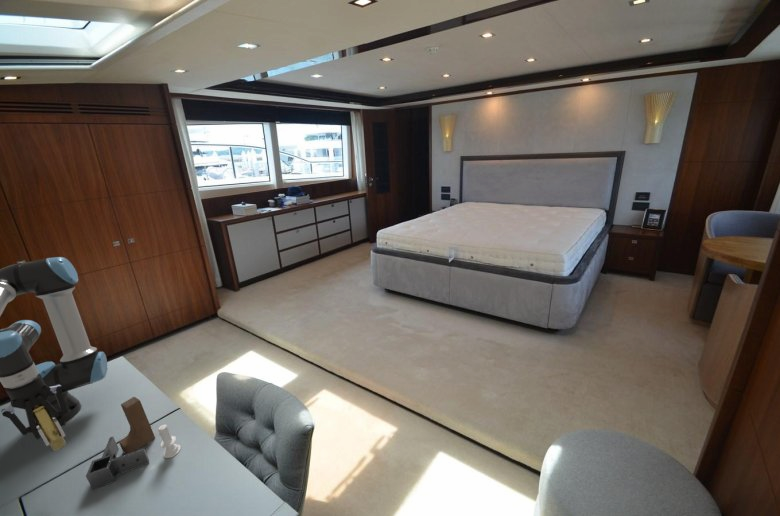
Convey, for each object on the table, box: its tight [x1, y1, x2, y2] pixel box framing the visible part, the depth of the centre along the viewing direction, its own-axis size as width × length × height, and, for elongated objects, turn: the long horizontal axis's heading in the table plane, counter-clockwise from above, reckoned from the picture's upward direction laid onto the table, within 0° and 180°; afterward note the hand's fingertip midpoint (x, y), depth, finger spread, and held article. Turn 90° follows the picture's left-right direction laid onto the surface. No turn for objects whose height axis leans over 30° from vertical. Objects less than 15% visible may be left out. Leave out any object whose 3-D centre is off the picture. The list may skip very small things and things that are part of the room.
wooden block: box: [119, 396, 156, 455], centre depth 120 cm, size 9×4×18 cm, turn 148°
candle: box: [158, 423, 182, 459], centre depth 117 cm, size 5×5×12 cm
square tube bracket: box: [85, 436, 150, 490], centre depth 116 cm, size 15×15×6 cm
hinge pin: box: [32, 404, 67, 451], centre depth 106 cm, size 4×4×17 cm
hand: (55, 438), depth 108 cm, fingers closed on hinge pin, 3 cm apart
